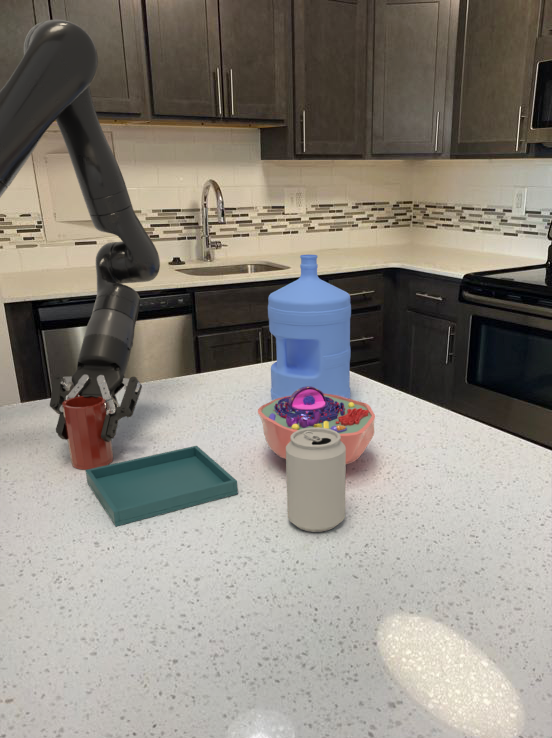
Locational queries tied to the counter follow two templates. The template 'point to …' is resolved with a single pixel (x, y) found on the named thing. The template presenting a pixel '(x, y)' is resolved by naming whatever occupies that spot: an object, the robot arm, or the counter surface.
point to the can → (316, 479)
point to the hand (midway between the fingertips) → (84, 438)
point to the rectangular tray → (159, 484)
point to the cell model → (317, 420)
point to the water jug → (310, 335)
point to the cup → (86, 432)
